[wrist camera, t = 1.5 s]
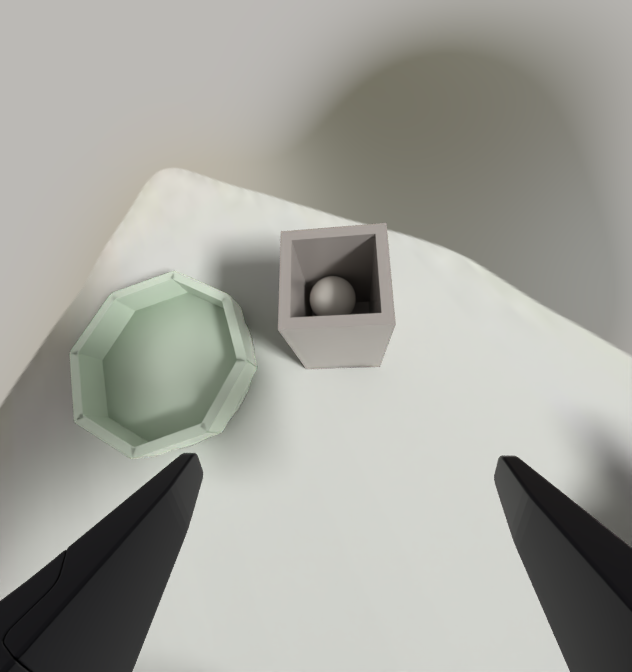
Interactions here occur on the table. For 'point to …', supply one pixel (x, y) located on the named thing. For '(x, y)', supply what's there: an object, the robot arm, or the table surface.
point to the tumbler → (367, 281)
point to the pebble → (332, 297)
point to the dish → (161, 366)
